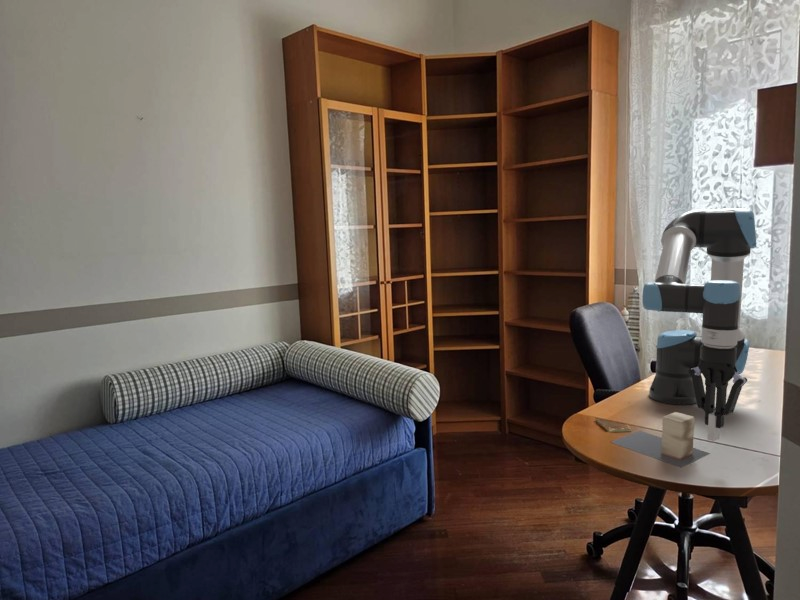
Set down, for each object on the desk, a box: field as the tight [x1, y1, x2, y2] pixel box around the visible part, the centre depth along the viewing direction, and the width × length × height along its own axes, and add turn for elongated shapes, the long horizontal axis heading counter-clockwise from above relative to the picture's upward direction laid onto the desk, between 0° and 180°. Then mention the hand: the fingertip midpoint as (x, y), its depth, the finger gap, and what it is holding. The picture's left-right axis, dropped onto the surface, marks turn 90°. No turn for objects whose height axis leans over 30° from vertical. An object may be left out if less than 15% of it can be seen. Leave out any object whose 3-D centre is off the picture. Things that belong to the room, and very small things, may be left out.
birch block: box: [661, 411, 695, 460], centre depth 143 cm, size 6×5×10 cm
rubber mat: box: [610, 430, 711, 469], centre depth 148 cm, size 14×20×1 cm
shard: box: [594, 417, 632, 433], centre depth 165 cm, size 11×8×2 cm
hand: (713, 438), depth 136 cm, fingers closed
